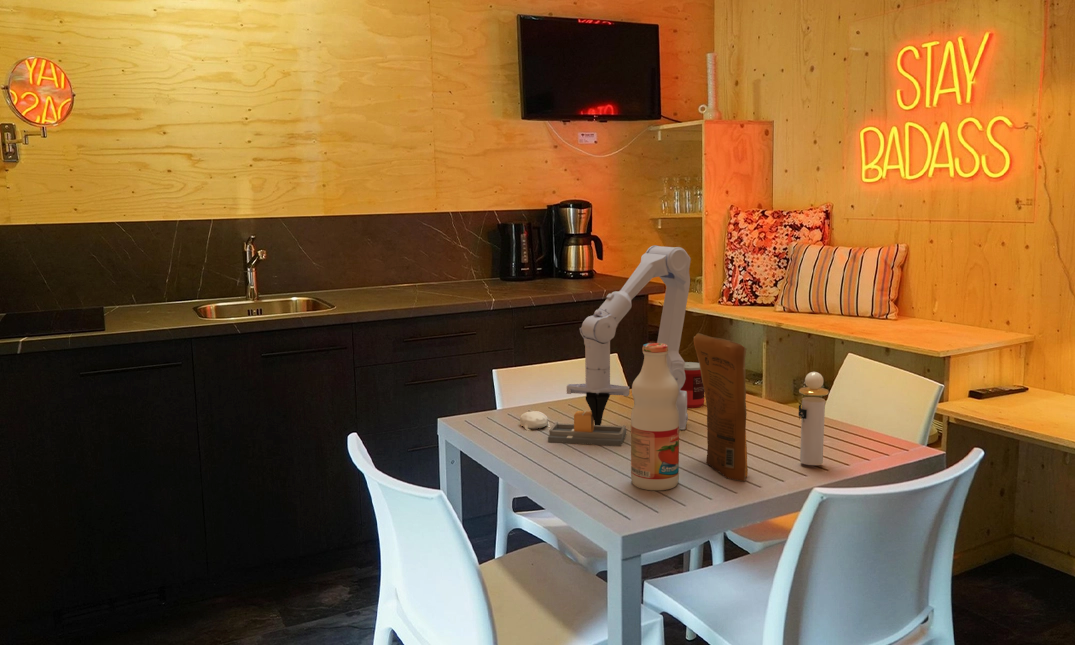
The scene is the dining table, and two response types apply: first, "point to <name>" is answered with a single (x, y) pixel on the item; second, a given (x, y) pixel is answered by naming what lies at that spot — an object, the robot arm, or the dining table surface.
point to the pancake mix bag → (724, 404)
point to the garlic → (534, 420)
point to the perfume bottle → (812, 420)
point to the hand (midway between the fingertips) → (598, 424)
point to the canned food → (693, 385)
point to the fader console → (587, 435)
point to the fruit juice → (655, 423)
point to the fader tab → (583, 421)
